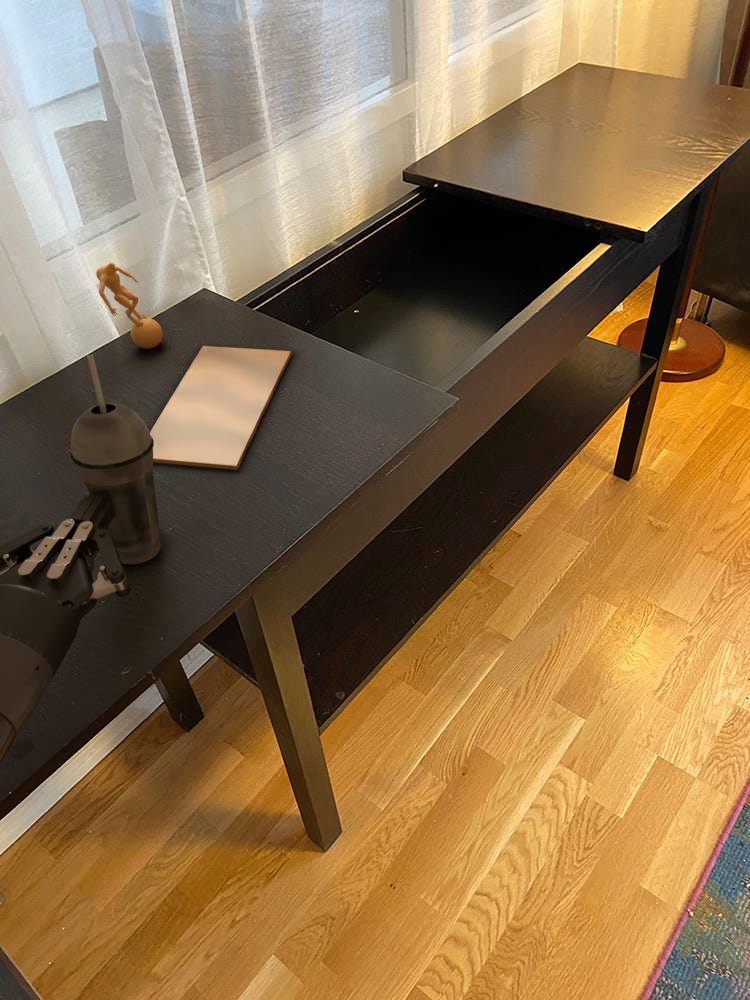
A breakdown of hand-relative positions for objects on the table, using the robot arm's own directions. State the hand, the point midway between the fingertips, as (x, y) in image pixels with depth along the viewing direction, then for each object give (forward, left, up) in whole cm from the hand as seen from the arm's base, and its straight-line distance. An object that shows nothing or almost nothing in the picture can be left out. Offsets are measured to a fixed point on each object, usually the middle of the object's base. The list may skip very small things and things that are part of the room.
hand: (103, 498), depth 70 cm
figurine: (-31, +24, -9) cm, 40 cm away
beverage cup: (-1, +1, -9) cm, 9 cm away
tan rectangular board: (-13, +22, -9) cm, 27 cm away
